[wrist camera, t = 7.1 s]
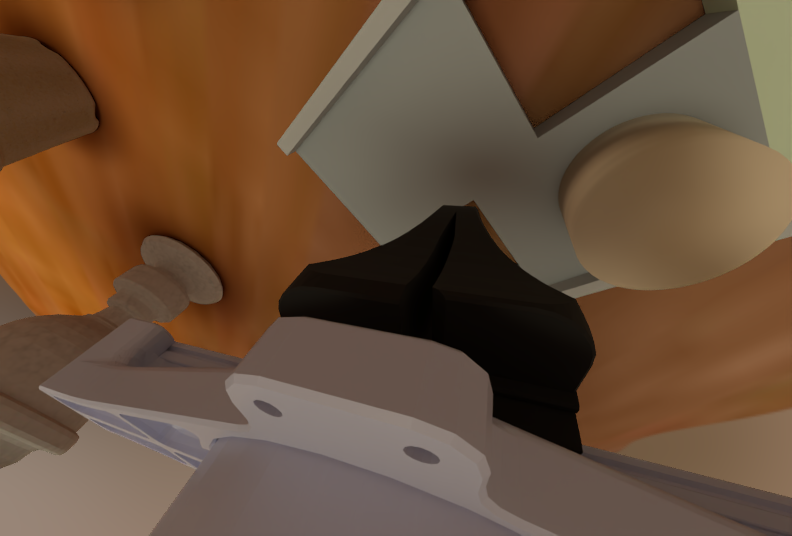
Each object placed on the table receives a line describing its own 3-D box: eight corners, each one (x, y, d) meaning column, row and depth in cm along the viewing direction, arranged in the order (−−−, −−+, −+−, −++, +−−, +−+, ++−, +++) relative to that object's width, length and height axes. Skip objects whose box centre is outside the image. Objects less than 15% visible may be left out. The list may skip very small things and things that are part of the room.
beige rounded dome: (579, 255, 16) (598, 304, 13) (539, 163, 14) (550, 198, 11) (731, 208, 12) (803, 261, 9) (711, 77, 10) (797, 92, 7)
